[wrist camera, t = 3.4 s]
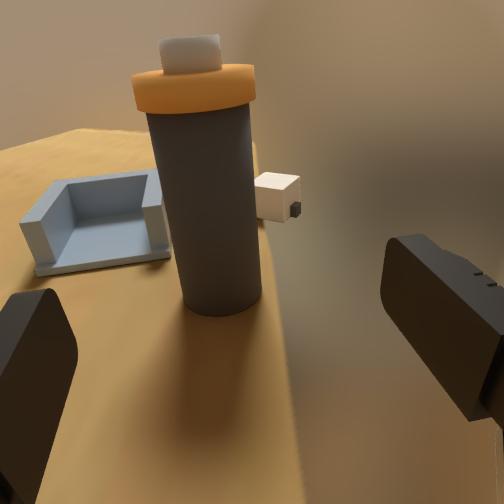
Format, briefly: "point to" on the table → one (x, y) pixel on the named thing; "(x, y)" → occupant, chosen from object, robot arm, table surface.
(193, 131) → the grey and orange bottle
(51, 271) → the end holder
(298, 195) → the routed cable
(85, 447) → the table surface
